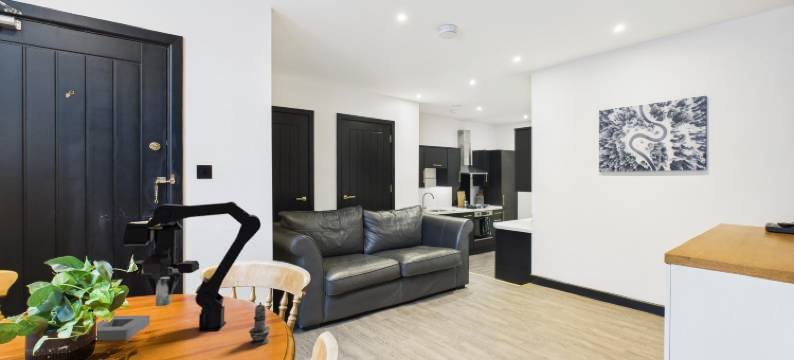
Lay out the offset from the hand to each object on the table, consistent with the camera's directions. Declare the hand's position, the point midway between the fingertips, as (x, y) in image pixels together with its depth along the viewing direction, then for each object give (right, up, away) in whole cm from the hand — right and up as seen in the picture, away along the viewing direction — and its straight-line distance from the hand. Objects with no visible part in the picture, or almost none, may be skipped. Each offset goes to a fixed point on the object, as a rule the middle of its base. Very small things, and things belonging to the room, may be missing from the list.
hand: (163, 294), depth 114 cm
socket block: (-14, -12, 0) cm, 18 cm away
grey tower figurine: (+32, -13, -5) cm, 35 cm away
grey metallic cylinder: (0, -3, 0) cm, 3 cm away
